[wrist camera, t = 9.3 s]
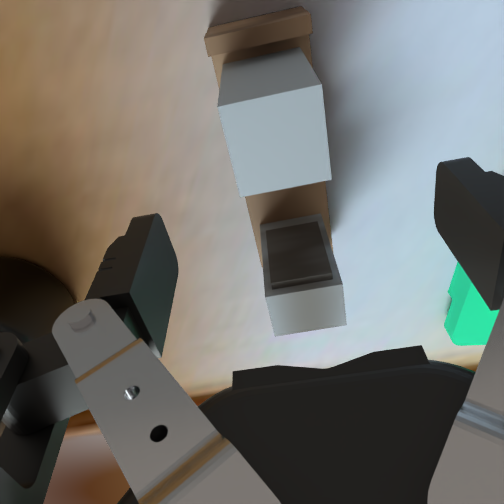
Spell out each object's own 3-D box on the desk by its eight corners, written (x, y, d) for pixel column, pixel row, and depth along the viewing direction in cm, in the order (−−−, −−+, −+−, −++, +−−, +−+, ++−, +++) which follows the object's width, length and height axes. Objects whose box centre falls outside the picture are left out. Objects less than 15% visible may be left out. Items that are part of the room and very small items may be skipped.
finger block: (299, 46, 22) (321, 84, 16) (309, 124, 24) (331, 180, 18) (222, 64, 22) (217, 106, 16) (239, 138, 24) (240, 198, 19)
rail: (301, 4, 22) (332, 35, 15) (328, 238, 31) (356, 329, 24) (208, 26, 23) (194, 66, 15) (260, 250, 31) (267, 343, 24)
